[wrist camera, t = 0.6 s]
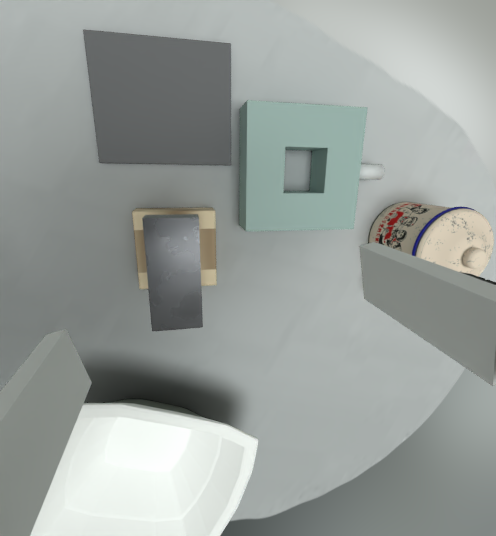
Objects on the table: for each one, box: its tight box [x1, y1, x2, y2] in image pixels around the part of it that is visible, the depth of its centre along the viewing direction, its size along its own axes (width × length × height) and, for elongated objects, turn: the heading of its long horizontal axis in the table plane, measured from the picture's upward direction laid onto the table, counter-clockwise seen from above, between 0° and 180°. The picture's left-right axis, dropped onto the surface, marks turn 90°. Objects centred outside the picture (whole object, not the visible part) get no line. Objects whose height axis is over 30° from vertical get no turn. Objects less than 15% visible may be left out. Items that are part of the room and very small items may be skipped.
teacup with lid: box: [369, 202, 494, 277], centre depth 34 cm, size 12×9×12 cm
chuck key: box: [142, 214, 203, 331], centre depth 29 cm, size 4×9×12 cm, turn 179°
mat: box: [83, 30, 231, 165], centre depth 30 cm, size 13×11×1 cm
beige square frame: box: [132, 208, 217, 289], centre depth 33 cm, size 8×8×3 cm
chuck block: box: [239, 100, 385, 231], centre depth 33 cm, size 16×12×4 cm
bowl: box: [30, 399, 258, 536], centre depth 37 cm, size 22×23×8 cm
